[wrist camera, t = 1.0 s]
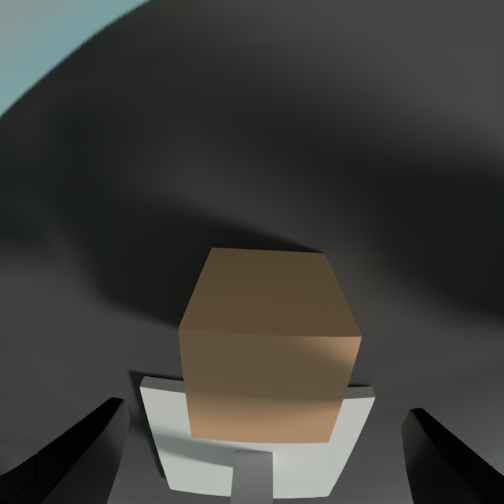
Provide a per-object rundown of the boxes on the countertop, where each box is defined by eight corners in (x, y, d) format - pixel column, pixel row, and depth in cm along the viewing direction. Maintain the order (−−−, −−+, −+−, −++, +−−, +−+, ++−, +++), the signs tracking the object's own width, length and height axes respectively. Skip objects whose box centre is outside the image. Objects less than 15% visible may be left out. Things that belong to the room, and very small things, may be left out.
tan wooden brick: (324, 253, 15) (361, 336, 9) (310, 343, 17) (328, 442, 11) (211, 247, 15) (178, 329, 9) (213, 339, 17) (191, 437, 11)
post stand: (371, 386, 18) (405, 493, 10) (326, 487, 23) (335, 560, 15) (144, 375, 18) (101, 481, 11) (172, 480, 23) (156, 552, 16)
